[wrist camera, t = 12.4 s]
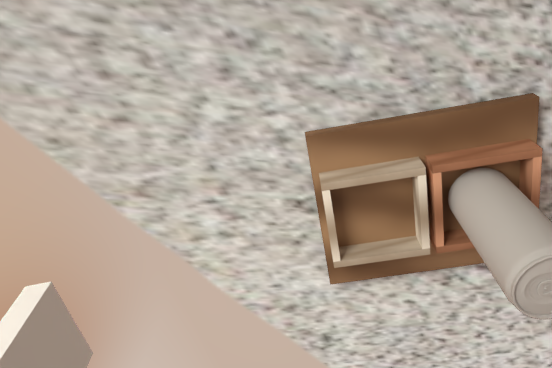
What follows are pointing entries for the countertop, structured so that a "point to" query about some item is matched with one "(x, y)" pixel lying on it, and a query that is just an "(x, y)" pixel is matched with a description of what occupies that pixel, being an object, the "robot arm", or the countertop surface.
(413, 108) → the countertop surface
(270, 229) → the countertop surface
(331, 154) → the socket board
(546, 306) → the beverage can
